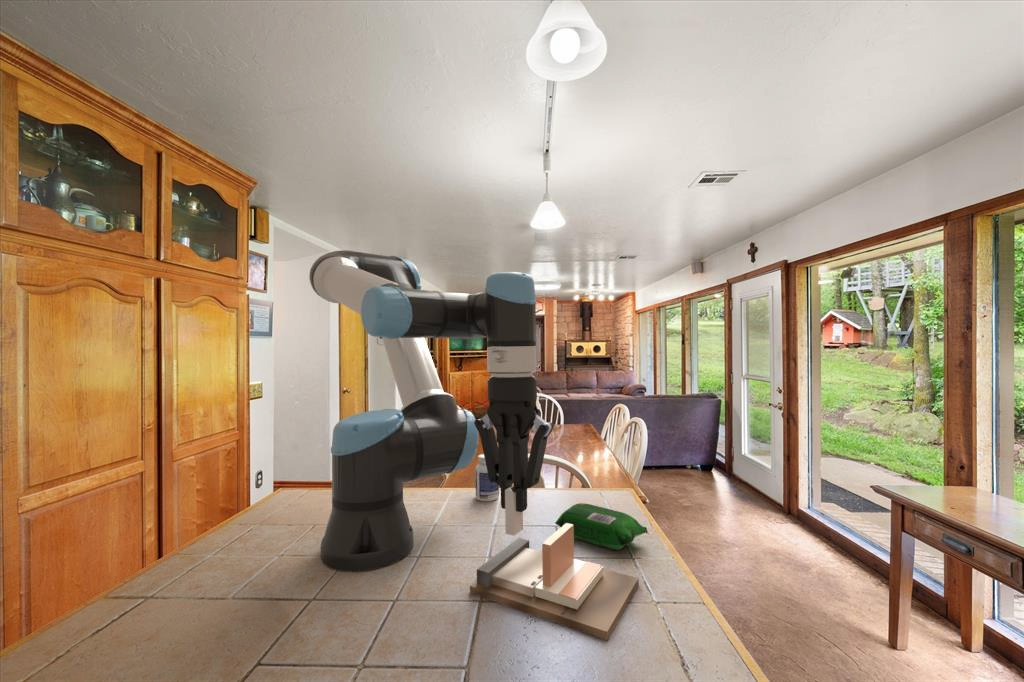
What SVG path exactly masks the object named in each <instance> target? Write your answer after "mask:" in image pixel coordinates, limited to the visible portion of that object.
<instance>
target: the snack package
mask: <svg viewBox="0 0 1024 682" xmlns="http://www.w3.org/2000/svg"><path fill="white" fill-rule="evenodd" d="M554 523H555V525H557V526H559V528H561V527H562V526H563V525H564V524H566V523H569V524H573V525H574V539H577V540H579V539H580V540H581V541H583V542H585V543H590V544H592V545H593V544H594V545H597V546H600V547H603V548H607V549H610V550H615V551H617V550H621V549H623V547H625V546H627V545H630V544H631V543H633V541H634V540H635V538H637V537H639V536H640V535H643V534H647V535H649V534H650V532H649V531H648V529H647V527H646V526H643V525H641V523H639V521H638V520H636V519H635V518H634V517H633V516H631V515H630V514H627V513H625V512H622V511H618V510H613V509H610V508H606V507H603V506H602V507H601V506H598V505H593V504H591V503H583V502H580V503H576V504H573V505H572V506H570V507H569V508H568V509H566V510H564V511H563V512H562V513H561V515H560V516H559V517H558V519H556V521H555V522H554ZM580 540H579V541H580Z"/></svg>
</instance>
